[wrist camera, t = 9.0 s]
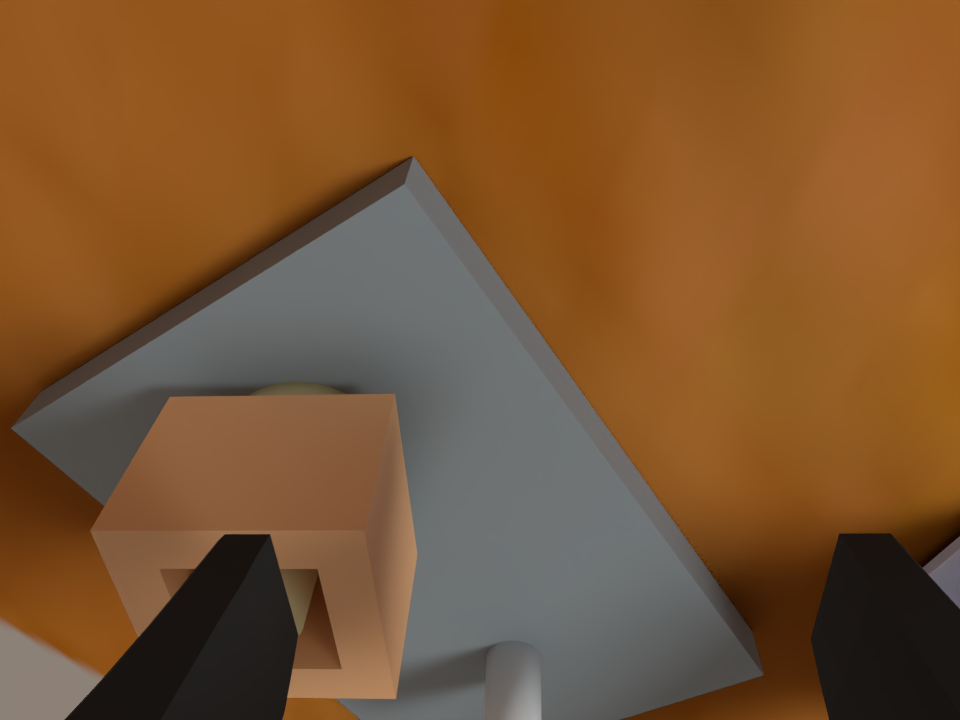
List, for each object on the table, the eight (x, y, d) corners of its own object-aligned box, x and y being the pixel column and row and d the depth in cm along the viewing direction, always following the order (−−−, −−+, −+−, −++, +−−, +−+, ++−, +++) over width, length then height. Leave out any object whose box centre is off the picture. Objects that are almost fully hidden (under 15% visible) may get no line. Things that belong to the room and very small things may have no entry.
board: (753, 632, 25) (812, 855, 20) (435, 737, 30) (414, 945, 24) (413, 156, 17) (360, 318, 12) (40, 391, 21) (-123, 590, 16)
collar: (395, 393, 18) (363, 530, 14) (417, 554, 21) (396, 698, 17) (169, 396, 18) (90, 531, 15) (222, 553, 21) (164, 695, 18)
